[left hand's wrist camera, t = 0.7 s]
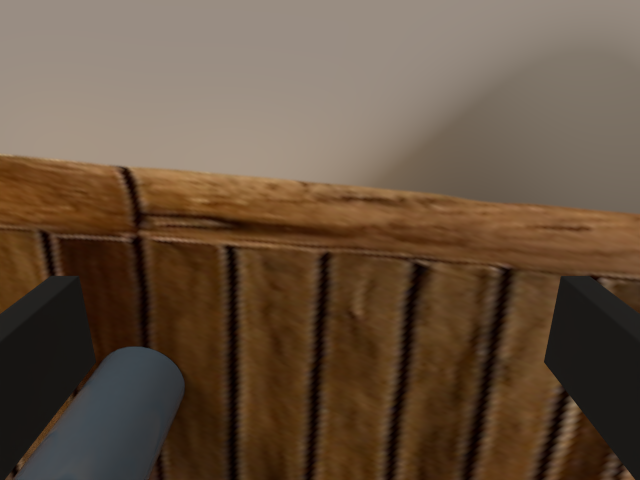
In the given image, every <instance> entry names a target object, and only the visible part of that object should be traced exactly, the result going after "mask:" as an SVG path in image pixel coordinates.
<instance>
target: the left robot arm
mask: <svg viewBox="0 0 640 480" xmlns="http://www.w3.org/2000/svg"><path fill="white" fill-rule="evenodd" d="M95 363H96V360H95V354H94V349H93V344H92V339H91V334H90V329H89V324H88V319H87V314H86V309H85V304H84V299H83V294H82V289H81V284H80V279H79V276H50V277H49V278H48V279H46V280H45V281H44V282H42V283H41V284H40V285H38V286H37V287H36V288H34V289H33V290H32V291H30V292H29V293H28V294H26V295H25V296H24V297H22V298H21V299H20V300H18V301H17V302H16V303H14V304H13V305H12V306H10V307H9V308H8V309H6V310H5V311H4V312H2V313H1V314H0V480H5V479H6V477H7V476H8V475H9V473H10V472H11V471H12V470H13V468H14V467H15V466H16V464H17V463H18V462H19V461H20V459H21V458H22V457H23V455H24V454H25V453H26V452H27V450H28V449H29V448H30V446H31V445H32V444H33V442H34V441H35V440H36V439H37V437H38V436H39V435H40V433H41V432H42V431H43V430H44V428H45V427H46V426H47V424H48V423H49V422H50V421H51V419H52V418H53V417H54V415H55V414H56V413H57V412H58V410H59V409H60V408H61V406H62V405H63V404H64V403H65V401H66V400H67V399H68V397H69V396H70V395H71V394H72V392H73V391H74V390H75V388H76V387H77V386H78V384H79V383H80V382H81V381H82V379H83V378H84V377H85V375H86V374H87V373H88V372H89V370H90V369H91V368H92V366H93V365H94V364H95ZM544 363H545V364H546V365H547V366H548V368H549V369H550V370H551V372H552V373H553V374H554V375H555V377H556V378H557V379H558V381H559V382H560V383H561V384H562V386H563V387H564V388H565V390H566V391H567V392H568V394H569V395H570V396H571V397H572V399H573V400H574V401H575V403H576V404H577V405H578V406H579V408H580V409H581V410H582V412H583V413H584V414H585V415H586V417H587V418H588V419H589V421H590V422H591V423H592V424H593V426H594V427H595V428H596V430H597V431H598V432H599V433H600V435H601V436H602V437H603V439H604V440H605V441H606V442H607V444H608V445H609V446H610V448H611V449H612V450H613V452H614V453H615V454H616V455H617V457H618V458H619V459H620V461H621V462H622V463H623V464H624V466H625V467H626V468H627V470H628V471H629V472H630V473H631V475H632V476H633V477H634V479H635V480H640V314H639V313H638V312H636V311H635V310H634V309H632V308H631V307H630V306H628V305H627V304H626V303H624V302H623V301H622V300H620V299H619V298H618V297H616V296H615V295H614V294H612V293H611V292H610V291H608V290H607V289H606V288H604V287H603V286H602V285H600V284H599V283H598V282H596V281H595V280H594V279H592V278H591V277H590V276H561V279H560V284H559V289H558V294H557V299H556V304H555V309H554V314H553V319H552V324H551V329H550V334H549V339H548V344H547V349H546V354H545V360H544Z"/></svg>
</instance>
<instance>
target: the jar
mask: <svg viewBox="0 0 640 480" xmlns="http://www.w3.org/2000/svg"><path fill="white" fill-rule="evenodd" d="M184 391H185V384H184V379H183V376H182V374H181V372H180V370H179V369H178V367H177V366H176V365H175V364H174V362H173V361H171V360H170V359H169V358H168V357H166V356H165V355H163V354H162V353H160V352H158V351H155V350H152V349H149V348H144V347H126V348H122V349H118V350H116V351H114V352H112V353H111V354H109V355H108V356H107V357H106V358H105V359H104V360H103V361H102V362H101V364H100V365H99V366H98V367H97V369H96V370H95V371H94V373H93V374H92V375H91V377H90V378H89V379H88V381H87V382H86V383H85V385H84V386H83V387H82V389H81V390H80V391H79V393H78V394H77V395H76V397H75V398H74V399H73V401H72V402H71V403H70V405H69V406H68V407H67V408H66V410H65V411H64V412H63V414H62V415H61V416H60V418H59V419H58V420H57V422H56V423H55V424H54V426H53V427H52V428H51V430H50V431H49V432H48V434H47V435H46V436H45V438H44V439H43V440H42V442H41V443H40V444H39V446H38V447H37V448H36V449H35V451H34V452H33V453H32V455H31V456H30V457H29V459H28V460H27V461H26V463H25V464H24V465H23V467H22V468H21V469H20V471H19V472H18V473H17V475H16V476H15V477H14V479H13V480H149V477H150V475H151V472H152V470H153V468H154V465H155V463H156V461H157V458H158V456H159V453H160V451H161V449H162V446H163V444H164V442H165V439H166V437H167V434H168V432H169V430H170V427H171V425H172V423H173V420H174V418H175V416H176V413H177V411H178V408H179V406H180V404H181V401H182V399H183V396H184Z"/></svg>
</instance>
